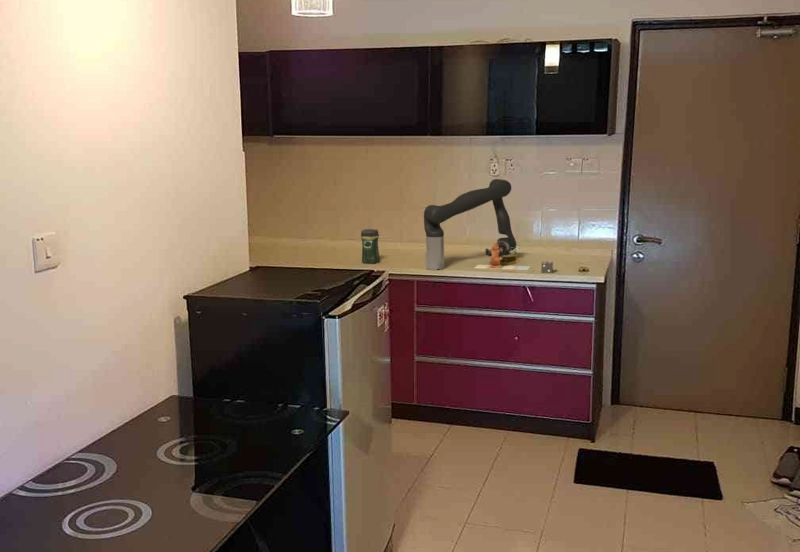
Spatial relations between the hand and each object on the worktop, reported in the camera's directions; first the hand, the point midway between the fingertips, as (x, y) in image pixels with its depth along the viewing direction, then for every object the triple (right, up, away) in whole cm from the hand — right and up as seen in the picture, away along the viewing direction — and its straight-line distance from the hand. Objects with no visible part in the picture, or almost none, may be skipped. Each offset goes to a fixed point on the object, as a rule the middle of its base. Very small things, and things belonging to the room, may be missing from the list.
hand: (494, 254), depth 390 cm
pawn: (+1, -6, +4) cm, 8 cm away
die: (+26, -9, -5) cm, 28 cm away
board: (+4, -8, +3) cm, 10 cm away
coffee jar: (-64, -4, +34) cm, 73 cm away
